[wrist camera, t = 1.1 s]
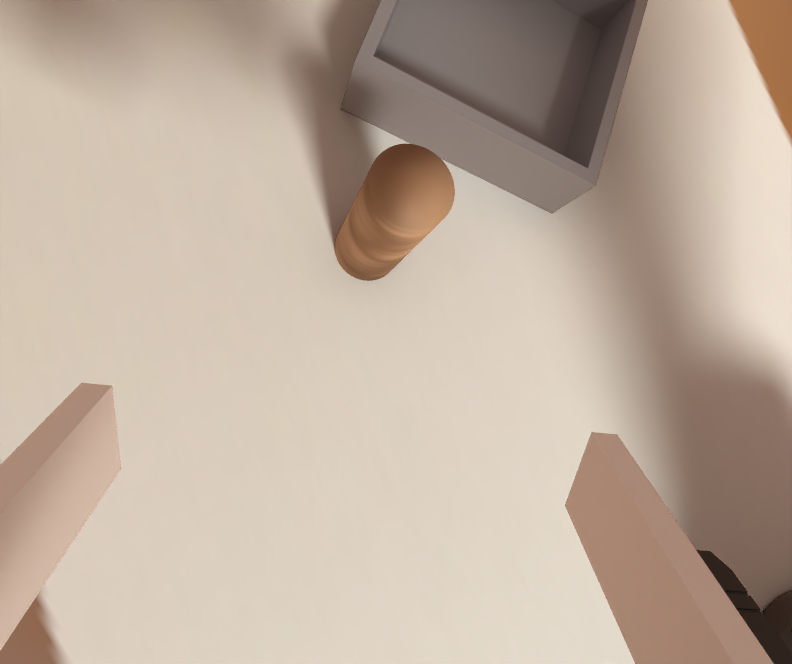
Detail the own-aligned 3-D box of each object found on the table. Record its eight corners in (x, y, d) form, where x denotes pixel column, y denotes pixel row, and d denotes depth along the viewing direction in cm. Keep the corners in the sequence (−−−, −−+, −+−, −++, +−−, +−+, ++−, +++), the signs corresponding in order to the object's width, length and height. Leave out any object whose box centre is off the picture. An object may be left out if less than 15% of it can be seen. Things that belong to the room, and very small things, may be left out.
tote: (605, 34, 50) (651, -15, 44) (552, 213, 46) (595, 185, 40) (419, -77, 46) (444, -145, 40) (340, 108, 42) (355, 60, 36)
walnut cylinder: (406, 234, 42) (465, 167, 30) (385, 290, 40) (438, 243, 29) (348, 207, 41) (387, 128, 29) (325, 264, 39) (356, 205, 28)
